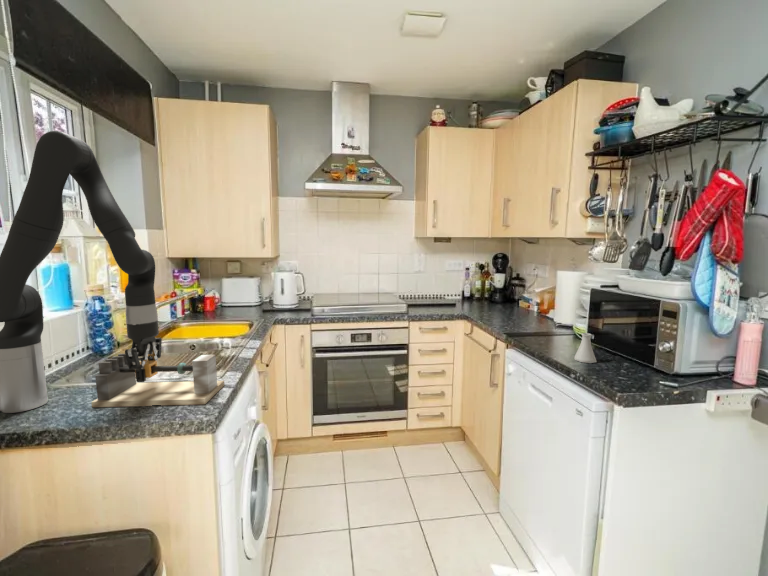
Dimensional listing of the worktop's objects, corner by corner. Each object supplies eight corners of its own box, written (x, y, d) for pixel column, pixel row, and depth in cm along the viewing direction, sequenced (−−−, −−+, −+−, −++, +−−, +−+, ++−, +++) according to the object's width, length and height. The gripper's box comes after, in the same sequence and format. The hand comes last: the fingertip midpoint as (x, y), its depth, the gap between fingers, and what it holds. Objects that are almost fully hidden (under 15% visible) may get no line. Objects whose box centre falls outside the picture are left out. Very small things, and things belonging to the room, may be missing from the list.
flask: (600, 363, 134) (602, 336, 133) (580, 363, 134) (581, 336, 133) (589, 357, 141) (590, 331, 140) (570, 357, 141) (571, 331, 140)
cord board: (91, 407, 101) (87, 366, 100) (125, 387, 115) (121, 351, 114) (205, 404, 102) (202, 363, 101) (224, 385, 116) (222, 349, 115)
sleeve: (135, 378, 106) (134, 365, 106) (143, 373, 110) (142, 360, 109) (150, 377, 106) (149, 364, 106) (157, 373, 110) (156, 360, 109)
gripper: (143, 315, 113) (148, 370, 115) (111, 325, 99) (117, 387, 101) (169, 315, 113) (173, 369, 115) (140, 325, 99) (145, 387, 101)
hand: (147, 377), depth 108 cm, fingers open, 5 cm apart
